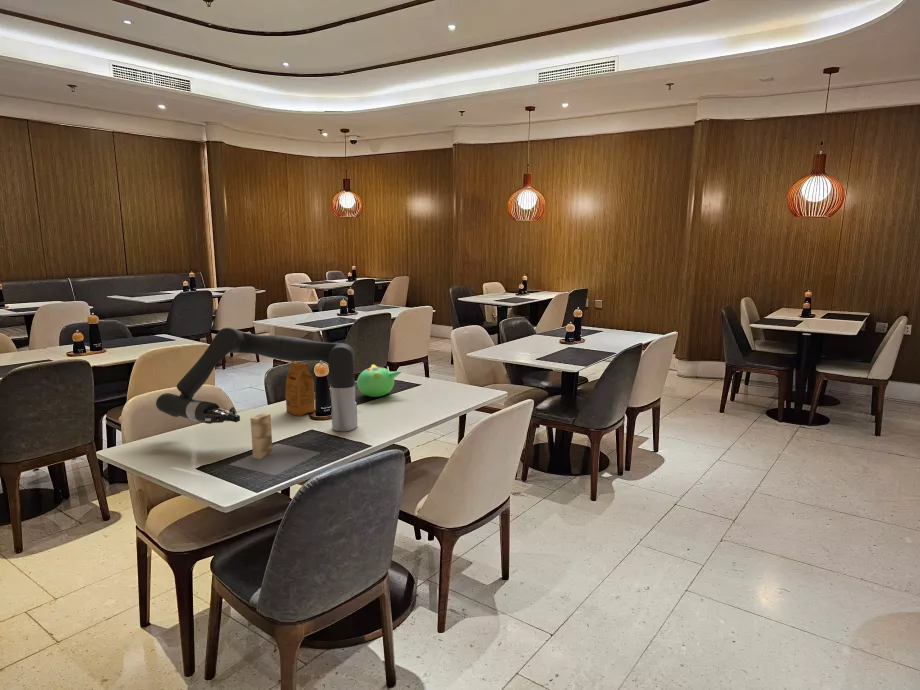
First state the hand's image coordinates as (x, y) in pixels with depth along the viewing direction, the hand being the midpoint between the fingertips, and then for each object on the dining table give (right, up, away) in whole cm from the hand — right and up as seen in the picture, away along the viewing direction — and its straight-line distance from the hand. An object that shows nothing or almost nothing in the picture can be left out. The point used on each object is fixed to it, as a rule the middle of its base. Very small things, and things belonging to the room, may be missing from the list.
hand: (238, 418), depth 198 cm
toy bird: (+37, +1, +74) cm, 83 cm away
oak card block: (+9, -12, -2) cm, 15 cm away
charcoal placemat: (+15, -13, -5) cm, 20 cm away
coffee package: (+8, -4, +49) cm, 50 cm away
